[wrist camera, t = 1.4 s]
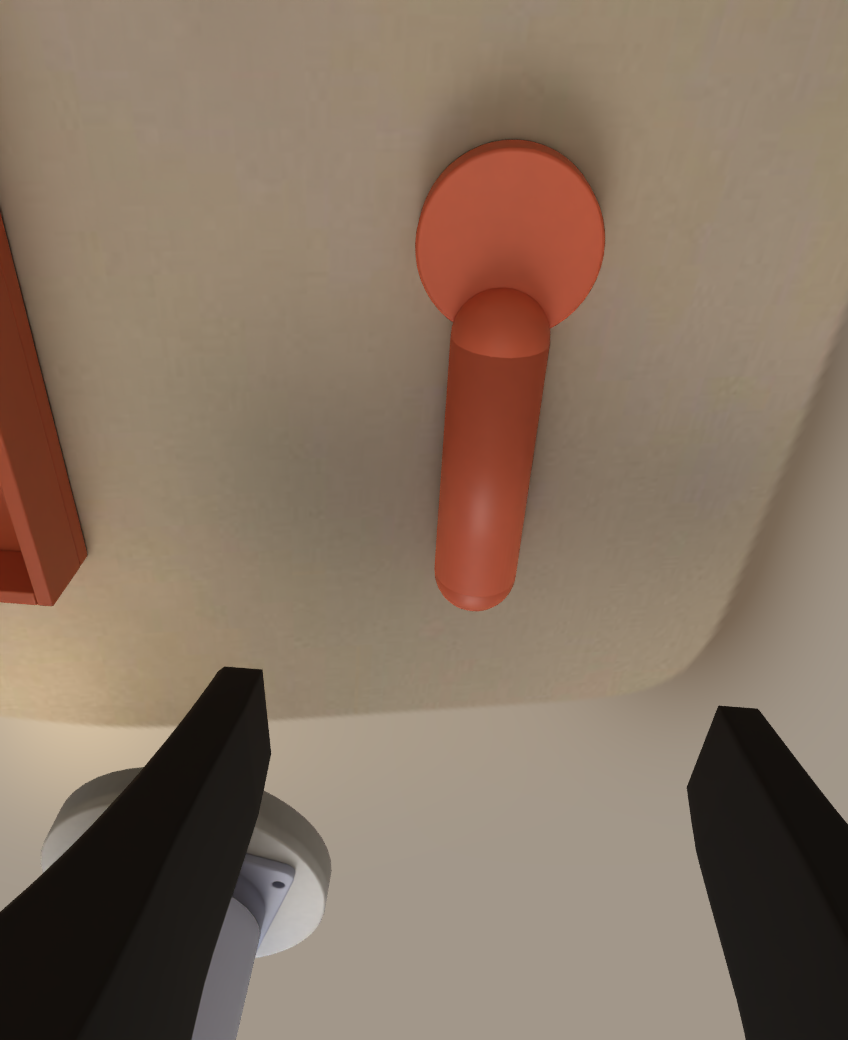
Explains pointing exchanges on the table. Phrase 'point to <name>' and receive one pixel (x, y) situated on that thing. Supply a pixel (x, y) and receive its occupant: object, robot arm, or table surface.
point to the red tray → (30, 466)
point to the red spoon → (499, 340)
